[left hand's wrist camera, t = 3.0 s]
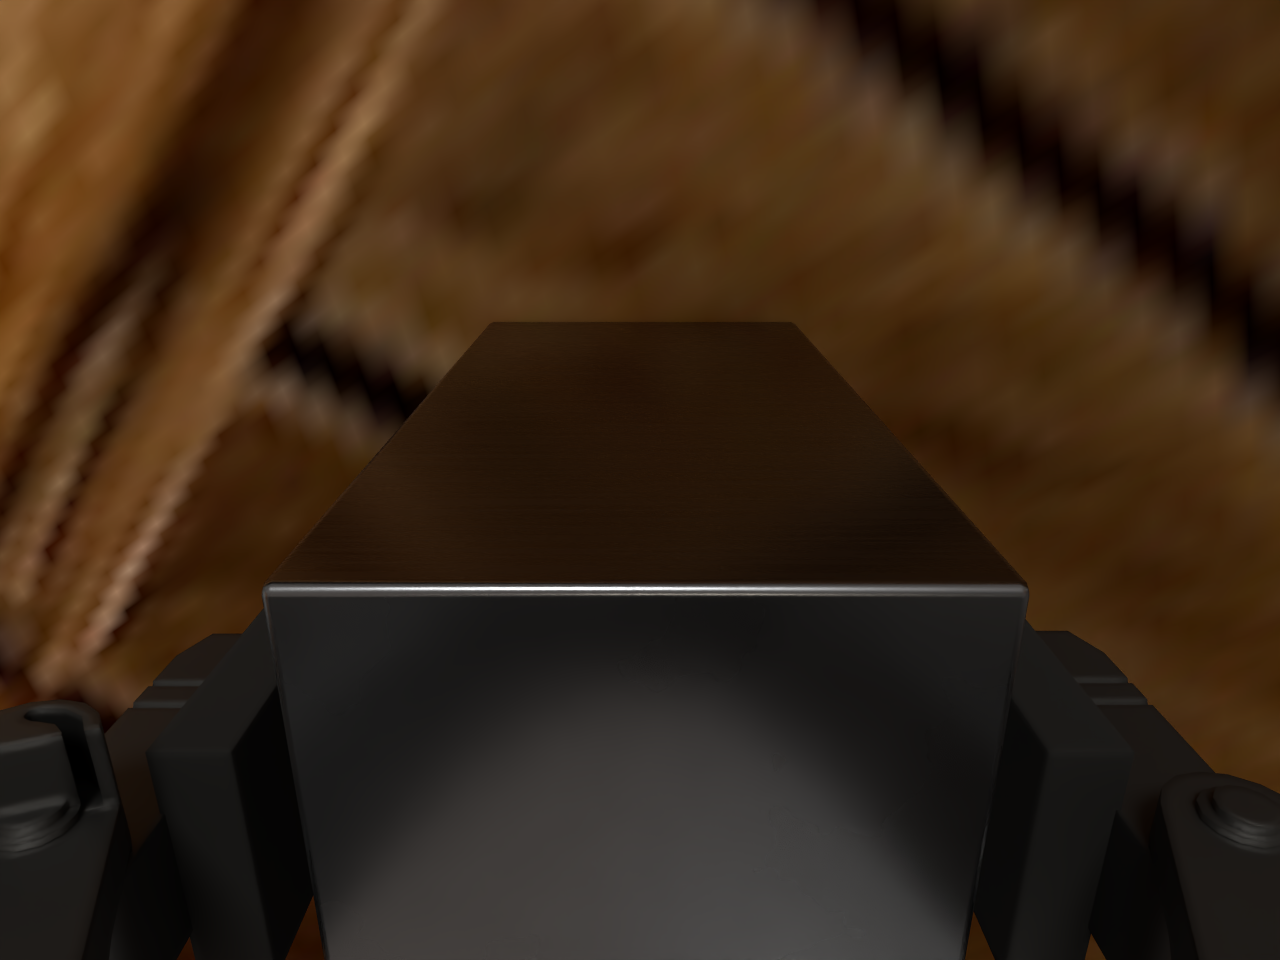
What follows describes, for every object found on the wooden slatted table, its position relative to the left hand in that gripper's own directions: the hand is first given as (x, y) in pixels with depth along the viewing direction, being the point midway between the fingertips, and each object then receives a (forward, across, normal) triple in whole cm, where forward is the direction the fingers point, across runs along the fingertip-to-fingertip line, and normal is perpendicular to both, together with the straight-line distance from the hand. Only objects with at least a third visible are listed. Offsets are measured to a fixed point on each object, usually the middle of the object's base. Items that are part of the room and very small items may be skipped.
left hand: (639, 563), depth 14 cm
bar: (+1, 0, -9) cm, 9 cm away
